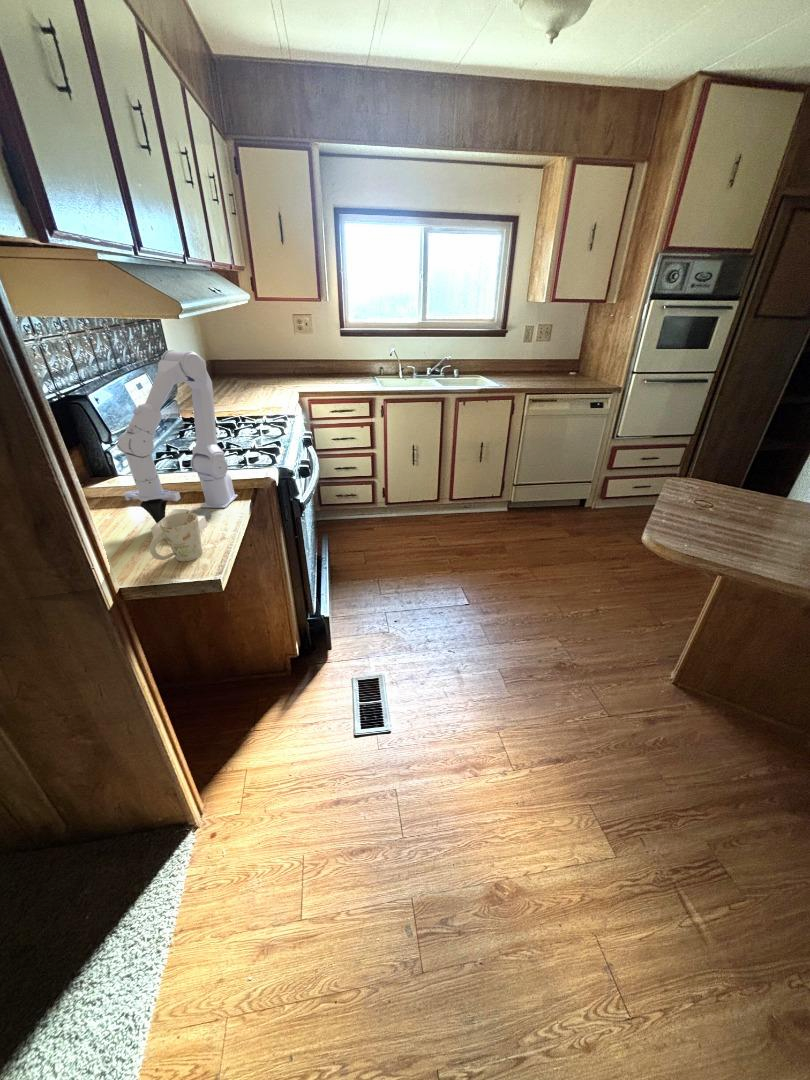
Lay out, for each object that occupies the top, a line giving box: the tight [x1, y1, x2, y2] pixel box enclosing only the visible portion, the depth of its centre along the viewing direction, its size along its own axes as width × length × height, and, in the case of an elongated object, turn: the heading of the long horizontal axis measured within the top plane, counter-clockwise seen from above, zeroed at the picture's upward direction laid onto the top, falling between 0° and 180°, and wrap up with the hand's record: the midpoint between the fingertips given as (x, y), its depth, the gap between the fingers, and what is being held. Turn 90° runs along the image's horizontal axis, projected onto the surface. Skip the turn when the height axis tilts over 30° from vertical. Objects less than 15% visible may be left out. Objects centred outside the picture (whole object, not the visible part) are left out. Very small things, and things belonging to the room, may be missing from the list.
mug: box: [149, 511, 203, 562], centre depth 103 cm, size 8×13×10 cm, turn 149°
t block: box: [150, 508, 208, 538], centre depth 119 cm, size 12×11×3 cm
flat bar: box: [164, 509, 212, 543], centre depth 119 cm, size 16×5×2 cm, turn 176°
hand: (161, 523), depth 119 cm, fingers closed
